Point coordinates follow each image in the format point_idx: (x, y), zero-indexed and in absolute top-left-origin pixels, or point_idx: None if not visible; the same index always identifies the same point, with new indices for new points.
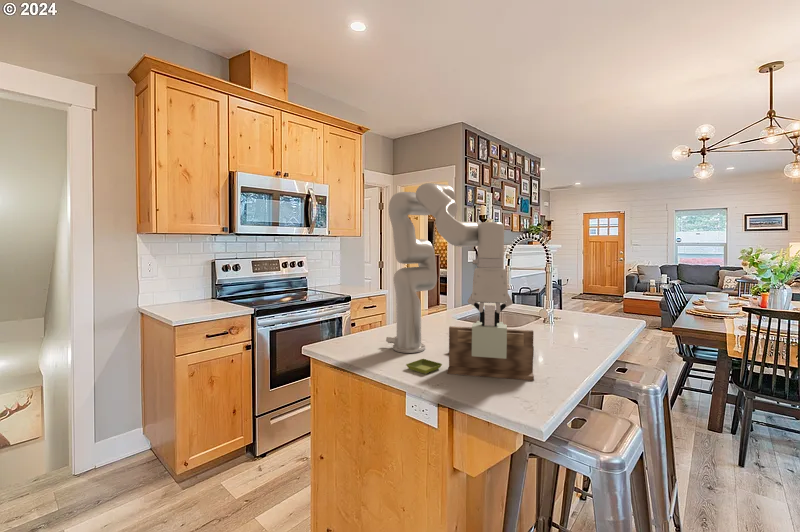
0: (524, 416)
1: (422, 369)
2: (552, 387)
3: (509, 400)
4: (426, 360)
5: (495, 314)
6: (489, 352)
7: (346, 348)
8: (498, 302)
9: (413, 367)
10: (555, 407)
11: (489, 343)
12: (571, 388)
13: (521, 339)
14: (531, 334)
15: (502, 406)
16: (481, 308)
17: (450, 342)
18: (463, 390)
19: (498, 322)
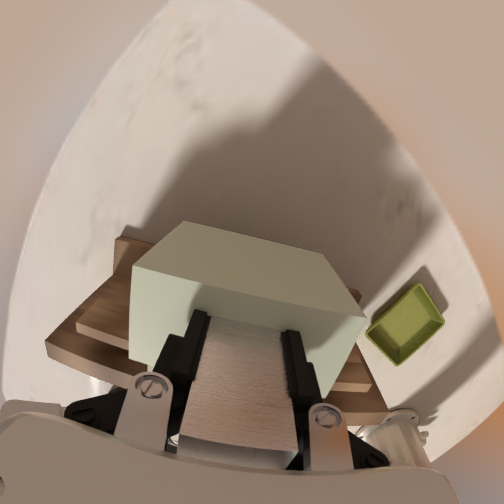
0: (216, 8)
1: (424, 289)
2: (88, 186)
3: (224, 85)
4: (392, 358)
5: (188, 365)
6: (251, 243)
7: (476, 404)
8: (115, 439)
9: (435, 307)
10: (125, 59)
11: (251, 256)
12: (54, 183)
13: (95, 313)
14: (56, 336)
15: (254, 51)
16: (325, 432)
17: (367, 372)
18: (341, 159)
19: (176, 335)
